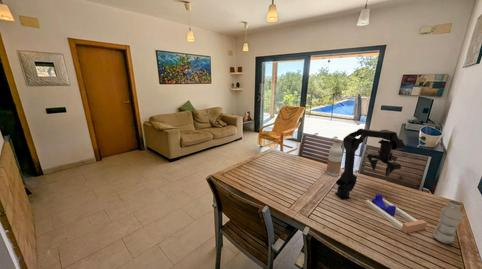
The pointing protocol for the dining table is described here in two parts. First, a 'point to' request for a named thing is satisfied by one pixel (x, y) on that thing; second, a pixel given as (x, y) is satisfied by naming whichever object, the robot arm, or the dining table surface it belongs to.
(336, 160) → the fruit juice
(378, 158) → the robot arm
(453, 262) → the dining table surface
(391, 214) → the cable clip
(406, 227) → the guide channel
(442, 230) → the plastic bottle
